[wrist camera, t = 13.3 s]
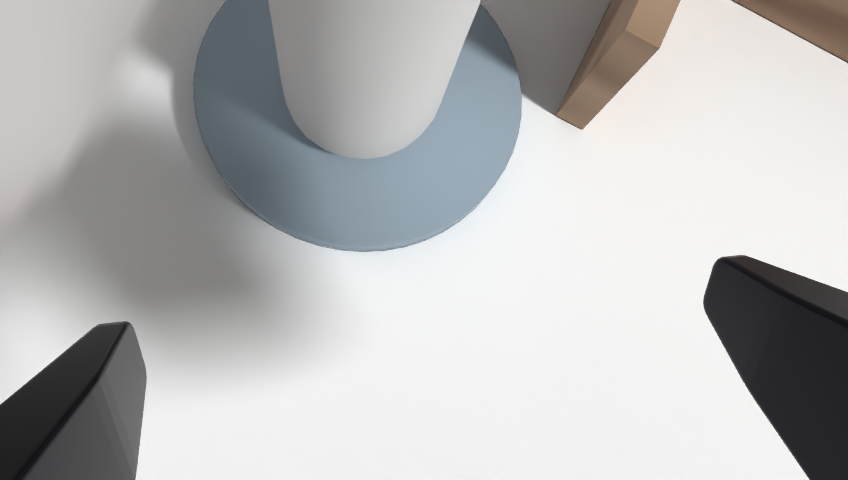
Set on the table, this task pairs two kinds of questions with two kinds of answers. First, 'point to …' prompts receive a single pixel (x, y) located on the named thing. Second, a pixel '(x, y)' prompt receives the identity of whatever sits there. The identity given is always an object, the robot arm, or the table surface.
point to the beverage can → (367, 68)
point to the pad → (350, 177)
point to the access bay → (645, 30)
